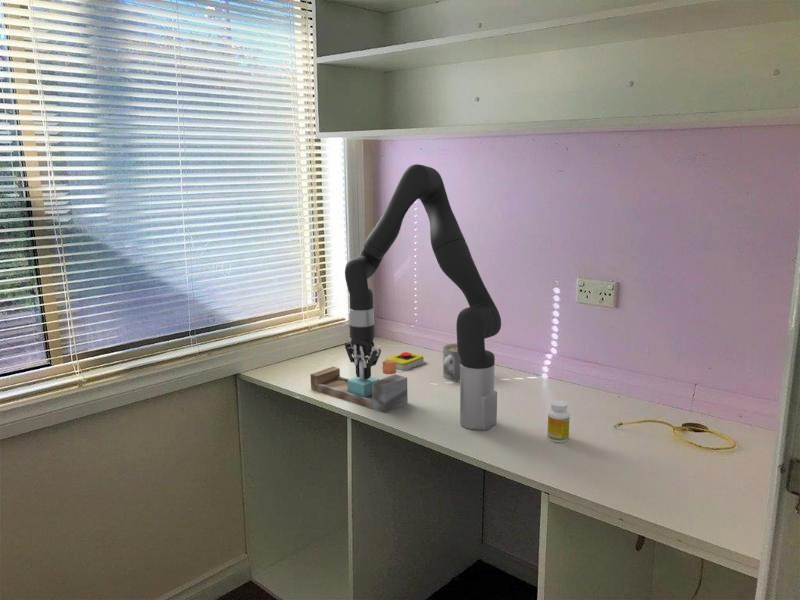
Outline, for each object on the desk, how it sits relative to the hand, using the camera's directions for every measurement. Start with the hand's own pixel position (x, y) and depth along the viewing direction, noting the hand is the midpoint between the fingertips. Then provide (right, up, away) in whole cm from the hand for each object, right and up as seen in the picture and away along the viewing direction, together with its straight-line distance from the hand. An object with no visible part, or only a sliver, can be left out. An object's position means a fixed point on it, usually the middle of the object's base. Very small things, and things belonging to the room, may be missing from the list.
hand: (363, 377), depth 201 cm
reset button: (+8, +2, -8) cm, 11 cm away
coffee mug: (+29, -2, +19) cm, 35 cm away
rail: (-3, -6, +4) cm, 8 cm away
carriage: (0, -5, +1) cm, 5 cm away
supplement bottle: (+52, -13, -30) cm, 61 cm away
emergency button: (+13, 0, +33) cm, 35 cm away
